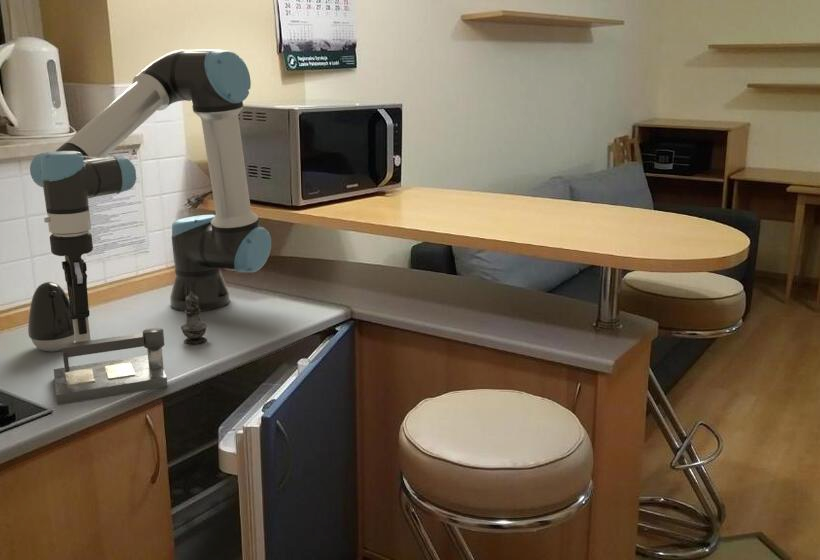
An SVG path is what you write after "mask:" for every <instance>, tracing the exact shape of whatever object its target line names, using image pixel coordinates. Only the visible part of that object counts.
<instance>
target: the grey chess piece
mask: <svg viewBox="0 0 820 560" xmlns="http://www.w3.org/2000/svg"><path fill="white" fill-rule="evenodd" d="M184 312H185V314H186V321H185V323H184V324H183V325H181V326H180V330H182V333H183V335H184V336H185V337H186V338H185V339H184V340H183V344H184V345H187V346H198V345H199V346H200V345H203V344H204V343H207V342H208V339H207V337H204V335H205V333H206V331H207V328H208V324H207V323H205V322H203V321H202V320H201V313H200V312H202V311H201V309H199V301H198V297H197V296H196V295H194V294H193V292H192V291H191V292H190V295H188V296H187V297H186V310H185V311H184Z"/></svg>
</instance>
